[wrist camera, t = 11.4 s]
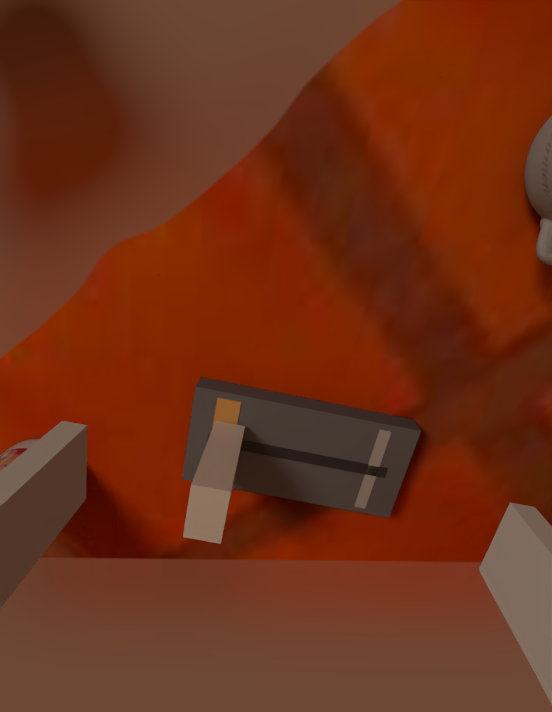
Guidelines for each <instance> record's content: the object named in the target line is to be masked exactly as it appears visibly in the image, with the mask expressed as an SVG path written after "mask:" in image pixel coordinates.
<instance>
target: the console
mask: <svg viewBox="0 0 552 712" xmlns="http://www.w3.org/2000/svg"><path fill="white" fill-rule="evenodd" d="M215 421H221V422H226V423H231V424H236V425H241V426H245V429H244V434H243V439H242V444H241V449H240V454H239V459H238V464H237V469H236V473H235V478H234V483H233V489H238V490H243V491H249V492H254V493H259V494H264V495H270V496H275V497H280V498H286V499H291V500H296V501H302V502H307V503H312V504H318V505H323V506H328V507H333V508H339V509H344V510H349V511H355V512H360V513H365V514H371V515H376V516H381V517H387V518H389V516H390V514H391V511H392V508H393V506H394V503H395V500H396V498H397V495H398V492H399V489H400V487H401V484H402V481H403V479H404V476H405V473H406V471H407V468H408V465H409V463H410V460H411V457H412V454H413V452H414V449H415V446H416V444H417V441H418V438H419V436H420V433H421V430H420V429H419V427H418V426H417V424H416V423H415V422H414V420H413V419H408V418H403V417H398V416H393V415H388V414H383V413H378V412H373V411H368V410H363V409H358V408H353V407H348V406H343V405H338V404H333V403H328V402H323V401H318V400H313V399H308V398H303V397H298V396H293V395H288V394H283V393H278V392H273V391H268V390H263V389H258V388H253V387H248V386H243V385H238V384H233V383H228V382H223V381H218V380H213V379H208V378H203V377H201V378H200V380H199V382H198V383H197V385H196V388H195V395H194V401H193V408H192V415H191V422H190V428H189V435H188V442H187V449H186V455H185V462H184V469H183V475H182V479H185V480H190V481H193V479H194V476H195V473H196V471H197V468H198V465H199V463H200V460H201V457H202V455H203V452H204V450H205V447H206V444H207V442H208V439H209V436H210V434H211V431H212V429H213V426H214V423H215Z"/></svg>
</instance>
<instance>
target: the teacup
mask: <svg viewBox="0 0 552 712" xmlns="http://www.w3.org/2000/svg"><path fill="white" fill-rule="evenodd" d="M524 183H525V190H526V194H527V197H528V199H529V202H530V204H531V205H532V207H533V208H534V210H535V211H536V212H537V214H539V215H540V216H541V221H540V225H539V226H540V228H541V229H540V233H539V236H538V240H537V244H536V254H537V257H538V259H539V260H540V261H541V262H542V263H544V264H546V265H548V266H551V267H552V115H551V116H550V118H549V119H548V120H547V121H546V122H545V123H544V125H543V126H542V128H541V129H540V130H539V132H538V133H537V135H536V137H535V139H534V141H533V143H532V145H531V147H530V149H529V152H528V156H527V159H526V163H525V170H524Z"/></svg>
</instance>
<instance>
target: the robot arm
mask: <svg viewBox="0 0 552 712" xmlns="http://www.w3.org/2000/svg"><path fill="white" fill-rule="evenodd" d="M86 474H87V425H82V424H77V423H71V422H66V421H62V422H60V423H59V424H58V425H57V426H55V427H54V428H53V429H52V430H50V431H49V432H48V433H47V434H45V435H44V436H43V437H42V438H41V439H39V440H38V441H37V442H36V443H34V444H33V445H32V446H31V447H29V448H28V449H27V450H26V451H25V452H23V453H22V454H21V455H20V456H18V457H17V458H16V459H15V460H13V461H12V462H11V463H10V464H8V465H7V466H6V467H5V468H4V469H2V470H1V471H0V608H1V607H2V606H3V604H4V603H5V602H6V601H7V599H8V598H9V597H10V595H11V594H12V593H13V592H14V590H15V589H16V588H17V586H18V585H19V584H20V582H21V581H22V580H23V579H24V577H25V576H26V575H27V574H28V572H29V571H30V570H31V569H32V567H33V566H34V565H35V564H36V562H37V561H38V560H39V558H40V557H41V556H42V555H43V553H44V552H45V551H46V550H47V548H48V547H49V546H50V544H51V543H52V542H53V541H54V539H55V538H56V537H57V535H58V534H59V533H60V532H61V530H62V529H63V528H64V527H65V525H66V524H67V523H68V521H69V520H70V519H71V518H72V516H73V515H74V514H75V513H76V511H77V510H78V509H79V507H80V506H81V505H82V504H83V502H84V501H85V500H86ZM479 571H480V573H481V575H482V577H483V579H484V580H485V582H486V584H487V586H488V588H489V590H490V591H491V593H492V595H493V597H494V599H495V600H496V602H497V604H498V606H499V608H500V610H501V611H502V613H503V615H504V617H505V619H506V621H507V623H508V625H509V626H510V628H511V630H512V632H513V634H514V635H515V637H516V639H517V641H518V643H519V645H520V647H521V648H522V650H523V652H524V654H525V656H526V658H527V660H528V661H529V663H530V665H531V667H532V669H533V670H534V672H535V674H536V676H537V678H538V680H539V682H540V683H541V685H542V687H543V689H544V691H545V693H546V694H547V696H548V698H549V700H550V702H551V704H552V527H551V525H550V524H549V523H548V522H547V521H546V520H545V518H544V517H543V516H542V515H541V514H540V513H539V512H538V510H537V509H536V508H535V507H532V506H526V505H521V504H515V503H510V504H509V506H508V508H507V510H506V513H505V515H504V517H503V519H502V521H501V523H500V525H499V527H498V530H497V532H496V534H495V536H494V538H493V540H492V542H491V545H490V547H489V549H488V551H487V553H486V555H485V557H484V560H483V562H482V564H481V566H480V568H479Z"/></svg>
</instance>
